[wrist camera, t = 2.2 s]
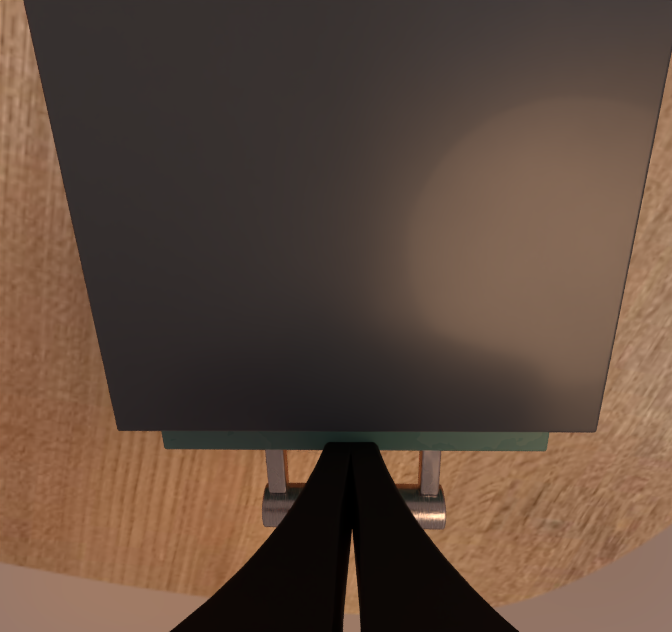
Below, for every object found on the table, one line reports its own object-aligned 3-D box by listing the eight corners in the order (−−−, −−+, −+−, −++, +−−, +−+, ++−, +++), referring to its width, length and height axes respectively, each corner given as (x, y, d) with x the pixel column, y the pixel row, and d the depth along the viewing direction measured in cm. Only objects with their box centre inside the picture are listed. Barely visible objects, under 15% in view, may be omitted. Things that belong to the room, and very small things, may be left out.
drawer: (478, 460, 18) (528, 574, 13) (232, 458, 18) (184, 568, 13) (526, -27, 12) (645, -166, 7) (174, -10, 13) (57, -129, 8)
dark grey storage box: (499, 328, 17) (597, 433, 10) (209, 331, 17) (116, 431, 10) (545, -108, 12) (773, -448, 6) (156, -86, 13) (-60, -369, 6)
